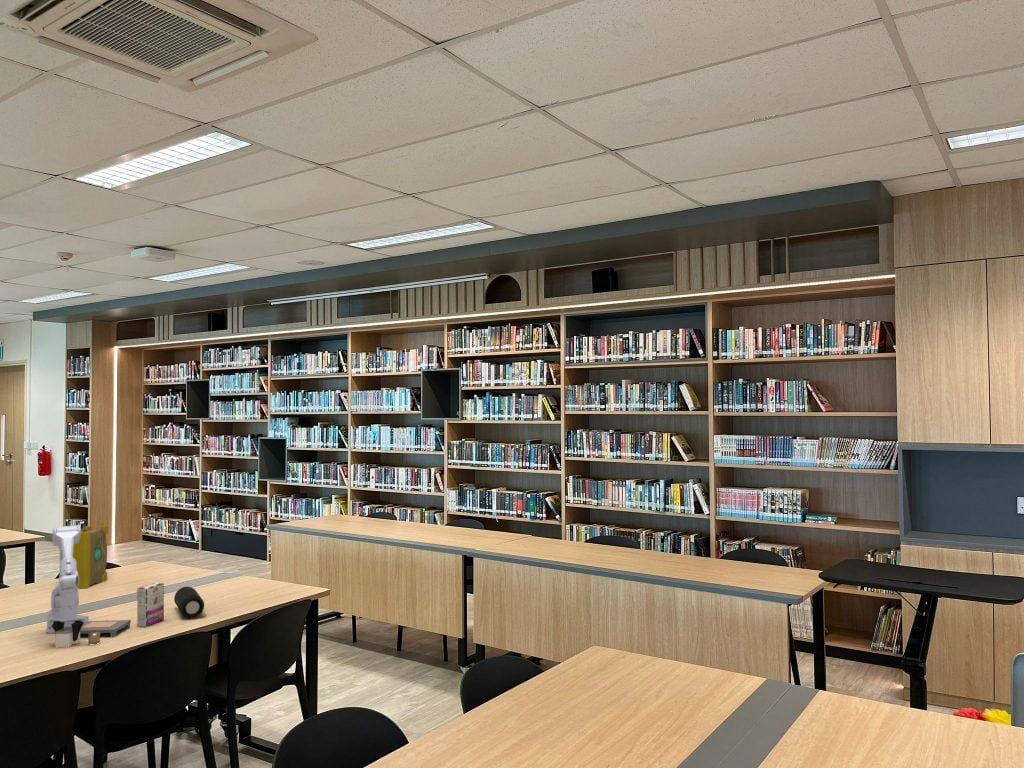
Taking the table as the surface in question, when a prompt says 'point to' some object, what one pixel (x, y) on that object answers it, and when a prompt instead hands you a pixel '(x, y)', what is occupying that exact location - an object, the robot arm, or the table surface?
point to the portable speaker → (189, 602)
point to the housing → (65, 637)
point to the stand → (104, 626)
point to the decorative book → (91, 556)
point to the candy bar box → (150, 604)
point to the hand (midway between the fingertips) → (67, 640)
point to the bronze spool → (94, 638)
